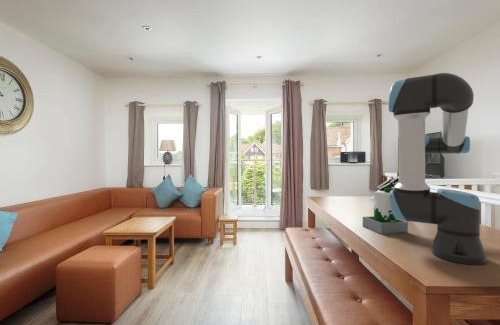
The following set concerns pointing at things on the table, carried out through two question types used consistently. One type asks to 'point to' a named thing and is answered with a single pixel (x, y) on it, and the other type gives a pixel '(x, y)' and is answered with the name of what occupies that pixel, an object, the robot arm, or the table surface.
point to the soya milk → (383, 206)
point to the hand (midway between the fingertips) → (381, 202)
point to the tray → (385, 226)
